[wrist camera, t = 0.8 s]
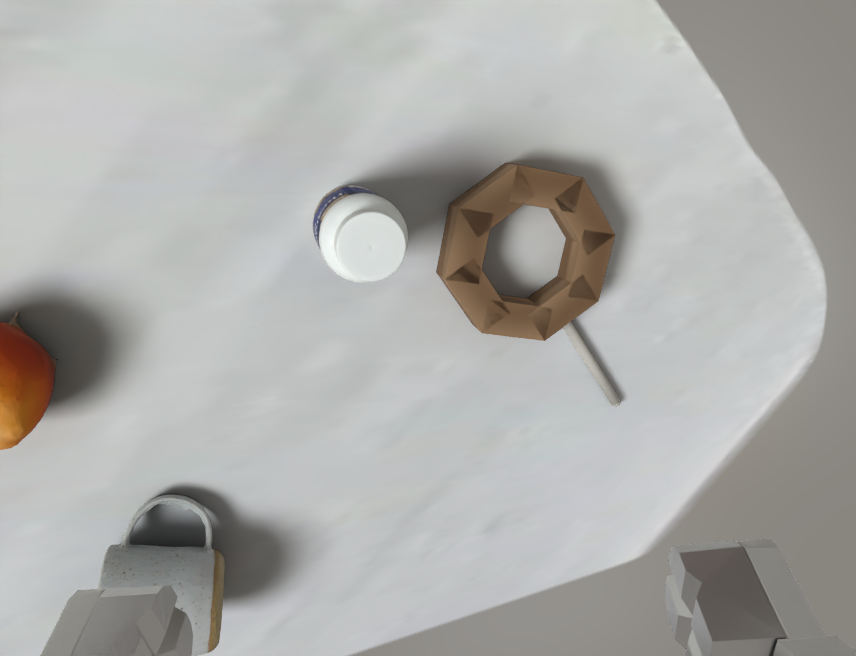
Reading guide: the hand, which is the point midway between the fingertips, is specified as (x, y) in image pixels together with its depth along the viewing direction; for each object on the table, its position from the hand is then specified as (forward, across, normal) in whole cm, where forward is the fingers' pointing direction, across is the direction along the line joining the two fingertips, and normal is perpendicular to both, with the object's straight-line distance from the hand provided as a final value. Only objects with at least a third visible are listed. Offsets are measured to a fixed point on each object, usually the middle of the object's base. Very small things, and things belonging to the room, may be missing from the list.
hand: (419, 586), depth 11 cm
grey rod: (+37, -10, +24) cm, 45 cm away
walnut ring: (+38, -6, +14) cm, 41 cm away
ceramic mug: (+26, +23, +30) cm, 46 cm away
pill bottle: (+36, +6, +10) cm, 38 cm away
